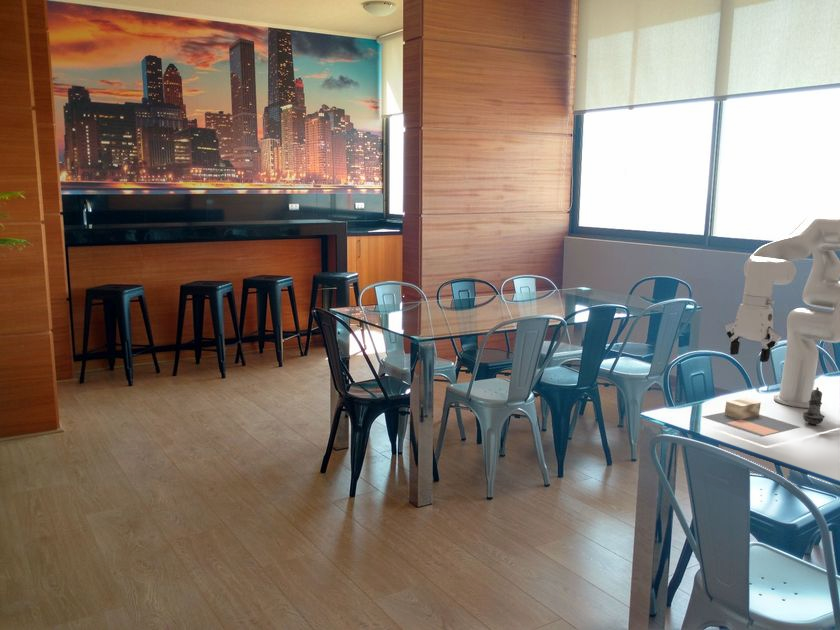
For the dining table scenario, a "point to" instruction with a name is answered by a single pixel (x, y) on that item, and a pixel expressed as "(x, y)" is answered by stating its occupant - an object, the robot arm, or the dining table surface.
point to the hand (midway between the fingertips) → (748, 357)
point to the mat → (753, 424)
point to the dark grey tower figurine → (814, 409)
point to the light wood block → (742, 408)
